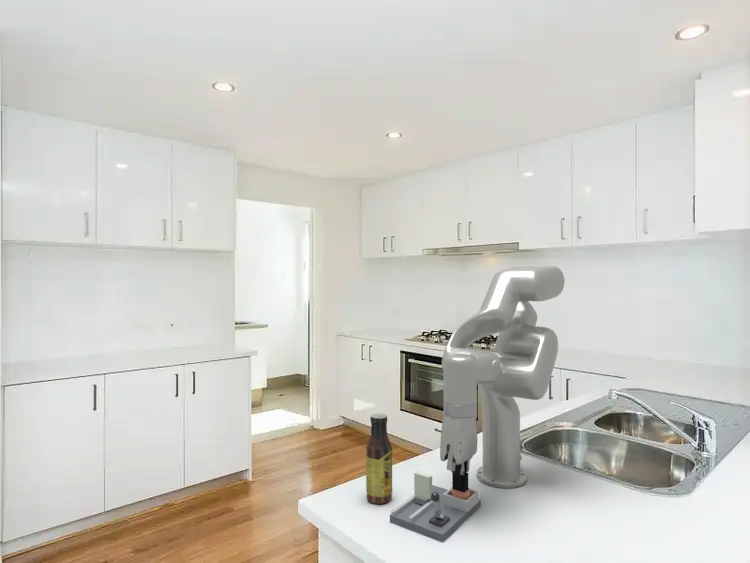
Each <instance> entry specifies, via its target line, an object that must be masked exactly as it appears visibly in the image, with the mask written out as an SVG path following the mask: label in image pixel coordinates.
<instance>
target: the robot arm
mask: <svg viewBox="0 0 750 563" xmlns="http://www.w3.org/2000/svg"><path fill="white" fill-rule="evenodd" d="M564 275H565V274H564V273H563V271H562V270H561V268H559V267H558V266H555V265H554V266H553V265H552V266H551V265H550V266H548V265H547V266H546V265H545V266H542V265H541V266H516V267H511V268H505V269H501V270H498V271H497V272H496V273H495V274H494V276H493V277H492V279H491V282H490V284H489V286H488V289H487V292H486V294H485V296H484V299H483V301H482V303H481V306H480V308H479V311H478V312H476V313H475V314H473V315H471V317H469V318H467V319H466V320H464V322H463V323H461V324H460V325H459V326H458V327H456V328H455V329H454V331H453V332H452V333H451V335H450V337H449V339H448V342H447V344H446V346H445V348H444V351H443V354H442V358H441V368H442V370H443V418H442V424H441V431H440V444H439V445H440V450H439V458H440V461H441V462H446V461H447V462H446V471H447V470H448V471H449V472H451V474H452V476H451V477H452V479H451V480H452V483H451V484H452V485H451V486H452V487H451V488H453V489H454V490H457V491H461V492H464V493H465V492H466V491H467V490H468V487H469V472H470V463H471V460H472V459H473V457H474V456H475V455H476V453H477V451H478V427H477V426H478V425H477V418H478V385H479V387H480V394H481V405H482V421H481V422H482V423H481V424H482V465H481V466H479V467H478V468H477V470H476V478H478V480H479V481H480V482H482V483H483V484H486V485H488V486H491V487H495V488H500V489H501V488H502V489H503V488H504V489H513V488H518V487H521V486H524V485H525V484H526V482H527V474H526V472H524V471H523V470H522V469H521V461H522V459H523V456H522V455H521V412H520V409H519V405H518V403H517V402H516V400H515V398H519V399H525V400H531V401H532V400H533V401H537V400H540V399H542V398H544V396H545V395H546V393H547V391H548V388H549V386H550V382H551V379H552V375H553V371H554V368H555V364H556V361H557V357H558V352H559V341H558V336H557V334H556V333H555V331H554V330H553V329H552V328H549V327H545V326H537V322H538V314H537V311H536V309H535V308H534V306H533V305H532V304H531V302H545V301H548V300H552V299H555V298H557V297H559V295H561V294H562V293H563V291H564V288H565V280H566V279H565V276H564ZM494 334H498V335H497V338H496V341H495V351H496V353H497V354H496V353H495V352H493V351H489V350H482V349H481V350H480V349H476V348H475V349H474V348H468V347H469V346H471V345H472V344H473V343H474V342H476V341H478V340H481V339H482V338H486V337H488V336H491V335H494Z"/></svg>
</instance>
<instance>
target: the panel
mask: <svg viewBox="0 0 750 563" xmlns="http://www.w3.org/2000/svg"><path fill="white" fill-rule="evenodd" d="M434 492H436V493H438V494H439V496H440V498H439V504H440V508H441V513H442V514H443V515H445V518H444V520H442V519H439V518H436V517H434V513H435V512H436V511H435V506H434V502H433V501H432V500H430V501H429V502H428V503H426V504H425V505H421V504H418V503H416V502H414V497H415V496H416V495H414V494H413V495H412V496H410V497H409V498H408V499H406V500H405V501H403V502H402V503H401V504H399V505H398V506H396V507H395V508H394V509H392V510H391V511H390V514H389V522H390V523H392V524H395V525H397V526H399V527H403V528H404V527H405V529H407V530H410V531H412V532H415V533H417V534H420V535H422V536H425V537H428V538H431V539H433V540H436V541H439V542H442V543H444V542H445V541H446V540H447V539H448V538H449V537H450V536H451V535H452V534H453V533H454V532H455V531H456V530H458V528H459V527H461V526H462V525H463V524H464V523H465V522H466V521H467V520H468V519H469V518H471V516H472V515H473V514H474V513H476V512H477V510H479V508H481V507H482V500H481V499H480V491H479V490H476V489H472V488H470V497H469V498H468V499H467V500H464V499H461V498H457V497H454V496H452V487H451V488H449V489H447V488H443V487H440V486H437V485H434V484H432V493H434Z"/></svg>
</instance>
